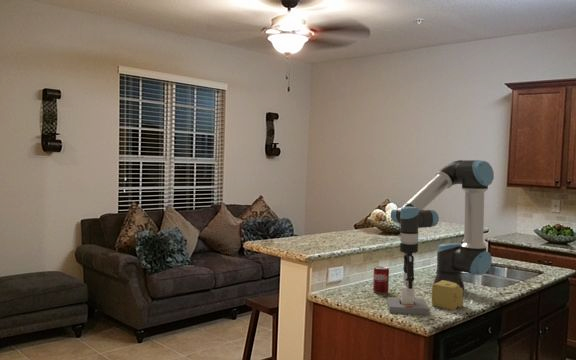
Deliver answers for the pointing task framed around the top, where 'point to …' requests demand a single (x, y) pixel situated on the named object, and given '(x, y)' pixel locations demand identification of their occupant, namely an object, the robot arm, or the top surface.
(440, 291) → the cheese
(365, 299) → the top surface
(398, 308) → the socket
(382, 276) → the soda can
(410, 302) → the plug
